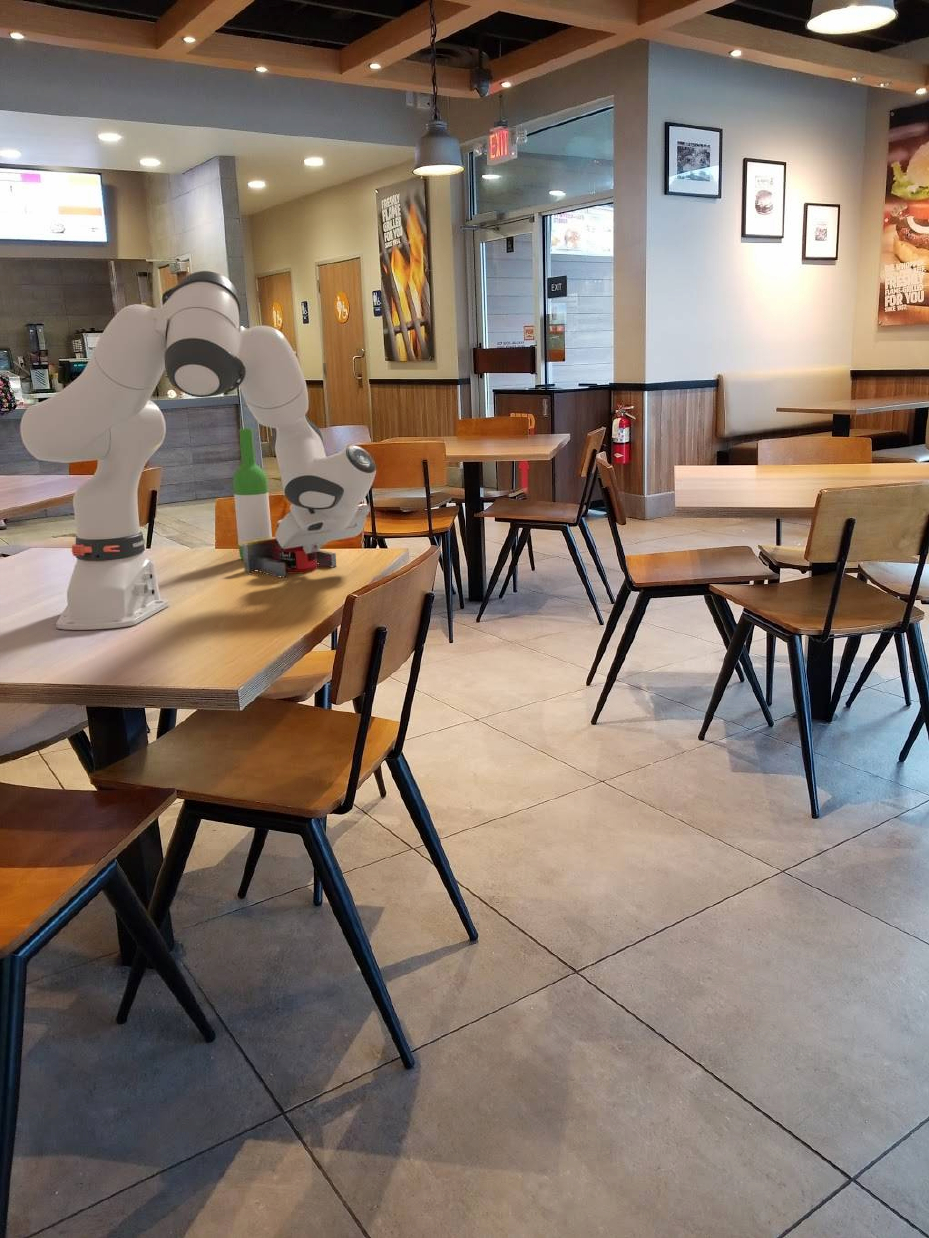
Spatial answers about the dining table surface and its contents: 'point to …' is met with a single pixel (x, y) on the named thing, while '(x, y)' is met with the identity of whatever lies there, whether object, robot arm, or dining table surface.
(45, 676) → the dining table surface
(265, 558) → the loading bay
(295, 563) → the canned food
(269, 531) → the wine bottle
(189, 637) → the dining table surface
